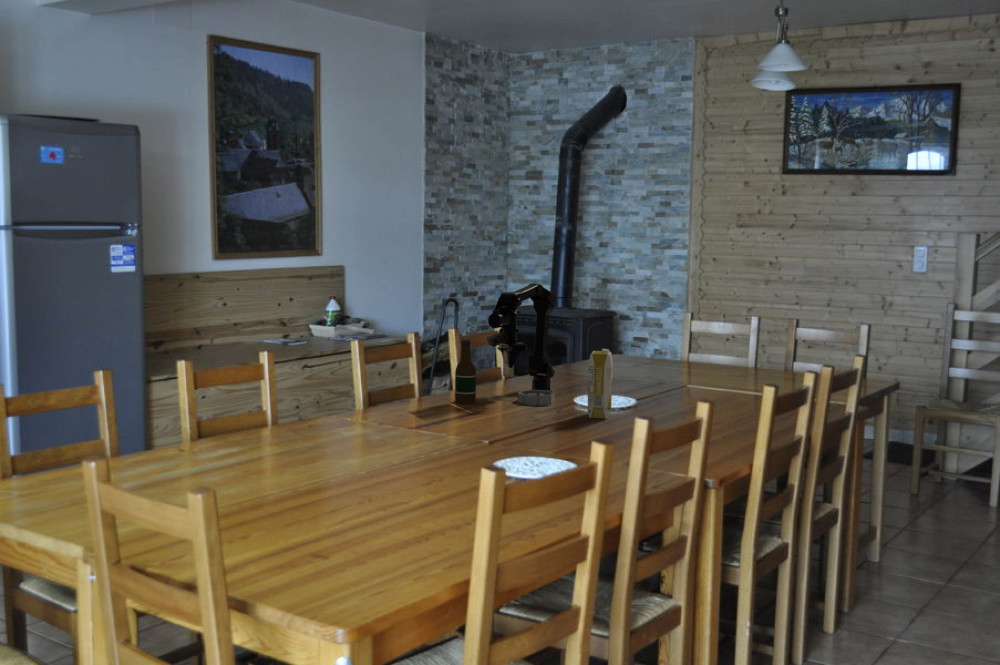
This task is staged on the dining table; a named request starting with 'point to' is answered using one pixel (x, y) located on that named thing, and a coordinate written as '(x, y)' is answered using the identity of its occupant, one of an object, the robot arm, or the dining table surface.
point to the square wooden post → (507, 366)
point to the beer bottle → (465, 377)
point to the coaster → (498, 398)
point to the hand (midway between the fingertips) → (508, 367)
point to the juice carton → (600, 384)
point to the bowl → (536, 397)
